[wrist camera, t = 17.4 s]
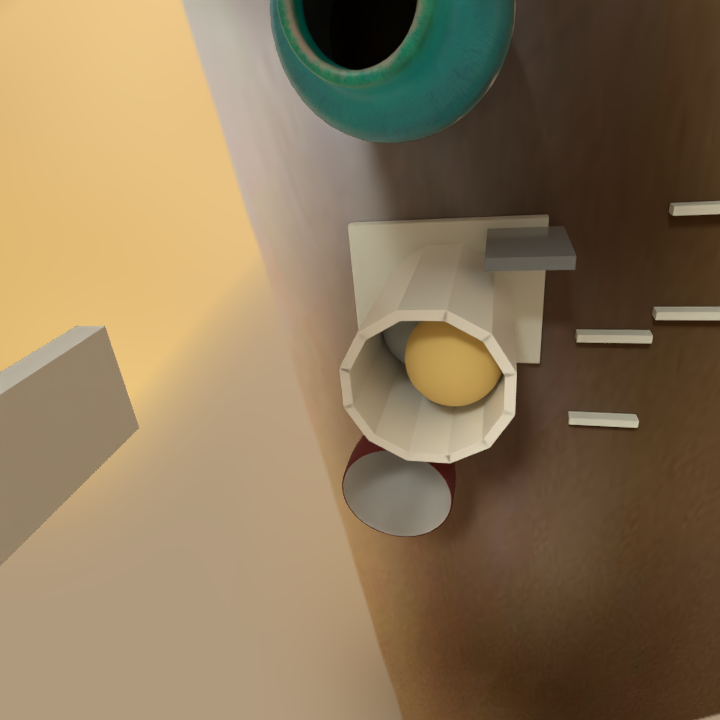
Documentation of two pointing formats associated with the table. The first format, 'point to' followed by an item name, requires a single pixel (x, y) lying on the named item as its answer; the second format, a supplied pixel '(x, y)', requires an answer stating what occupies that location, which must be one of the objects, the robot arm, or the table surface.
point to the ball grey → (399, 337)
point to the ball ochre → (449, 364)
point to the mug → (397, 491)
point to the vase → (392, 60)
